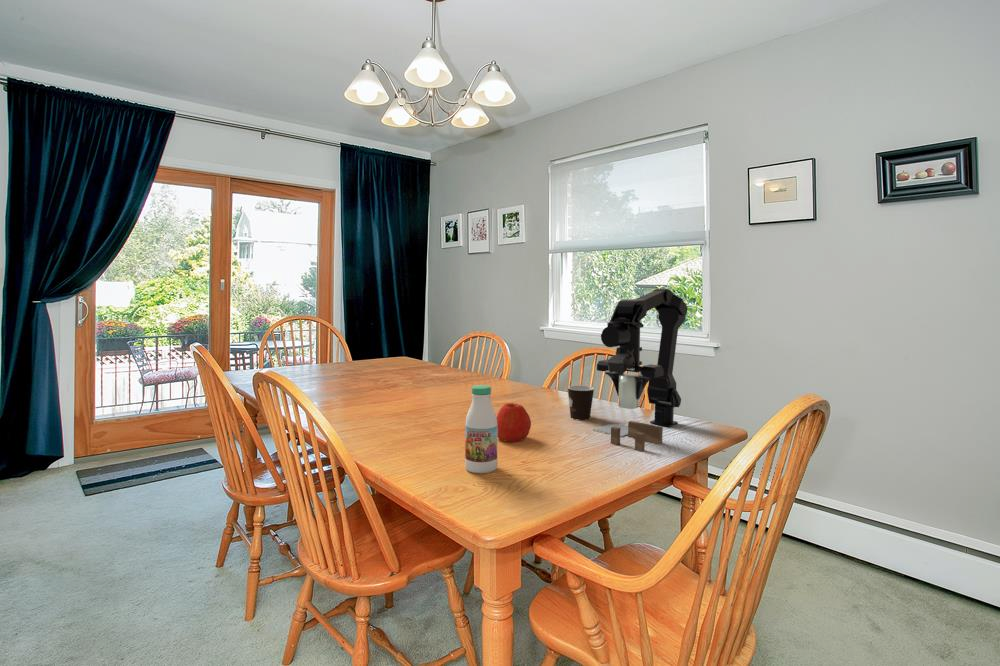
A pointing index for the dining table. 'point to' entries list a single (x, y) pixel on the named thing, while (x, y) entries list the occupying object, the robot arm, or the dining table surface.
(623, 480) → the dining table surface
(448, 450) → the dining table surface
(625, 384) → the cylinder with square knob
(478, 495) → the dining table surface
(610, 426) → the slate mat
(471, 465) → the milk bottle
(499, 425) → the apple
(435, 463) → the dining table surface
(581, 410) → the coffee mug
